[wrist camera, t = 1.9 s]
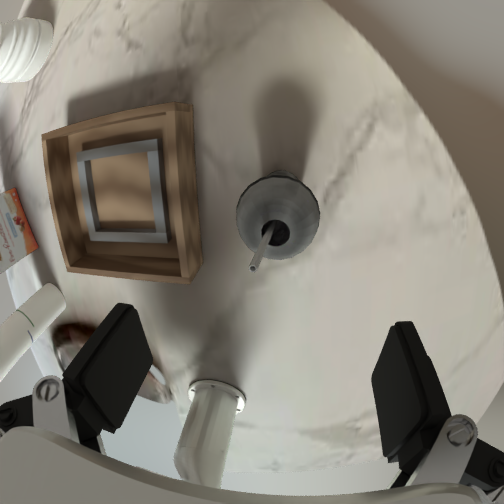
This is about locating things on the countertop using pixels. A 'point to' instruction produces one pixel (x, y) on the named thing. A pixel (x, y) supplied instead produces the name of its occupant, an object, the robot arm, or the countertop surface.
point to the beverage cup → (277, 217)
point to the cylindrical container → (28, 324)
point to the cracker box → (13, 231)
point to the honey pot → (23, 48)
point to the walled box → (127, 194)
